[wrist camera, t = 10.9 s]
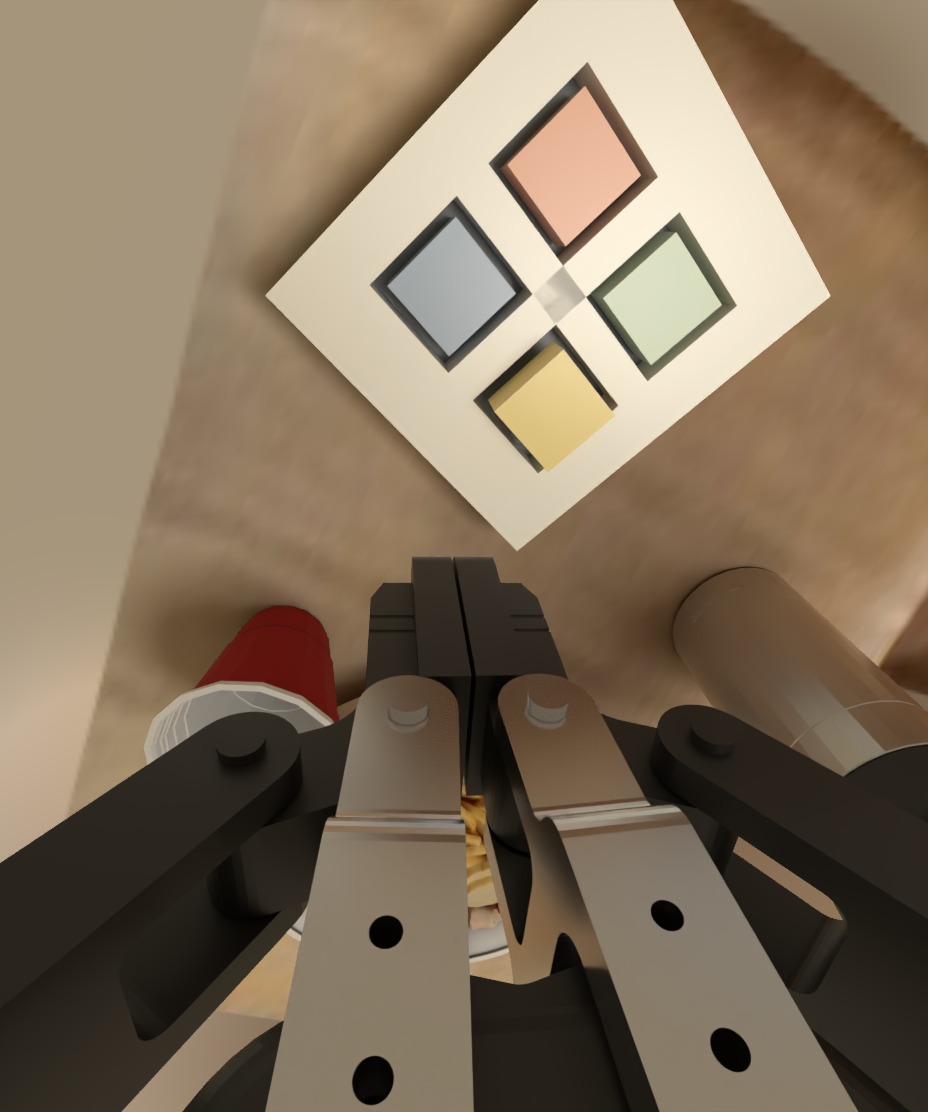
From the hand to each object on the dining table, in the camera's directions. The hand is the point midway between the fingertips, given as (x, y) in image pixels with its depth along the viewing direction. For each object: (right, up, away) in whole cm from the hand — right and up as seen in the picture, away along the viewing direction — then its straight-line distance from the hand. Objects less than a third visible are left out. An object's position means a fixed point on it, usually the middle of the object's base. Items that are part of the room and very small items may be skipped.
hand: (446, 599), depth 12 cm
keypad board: (+5, +16, +23) cm, 28 cm away
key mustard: (+5, +9, +22) cm, 24 cm away
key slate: (0, +15, +21) cm, 25 cm away
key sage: (+10, +15, +22) cm, 28 cm away
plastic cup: (-12, -5, +32) cm, 35 cm away
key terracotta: (+5, +19, +19) cm, 28 cm away
